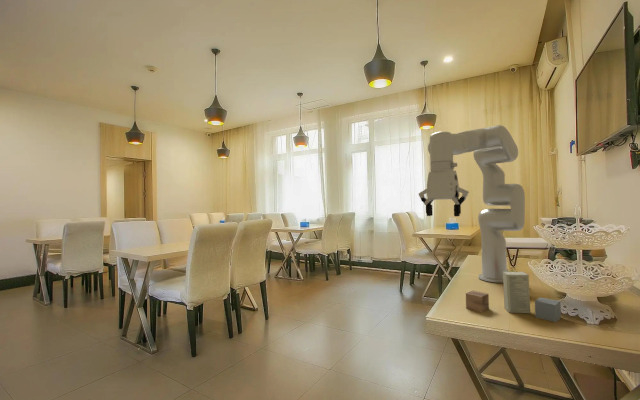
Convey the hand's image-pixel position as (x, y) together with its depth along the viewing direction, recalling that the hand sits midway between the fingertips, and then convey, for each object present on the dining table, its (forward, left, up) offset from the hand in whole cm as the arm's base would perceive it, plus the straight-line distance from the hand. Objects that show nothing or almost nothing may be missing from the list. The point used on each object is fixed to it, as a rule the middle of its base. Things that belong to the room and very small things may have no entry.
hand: (442, 216), depth 105 cm
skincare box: (-9, +19, -31) cm, 37 cm away
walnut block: (-2, +10, -31) cm, 32 cm away
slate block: (-10, +27, -31) cm, 42 cm away
